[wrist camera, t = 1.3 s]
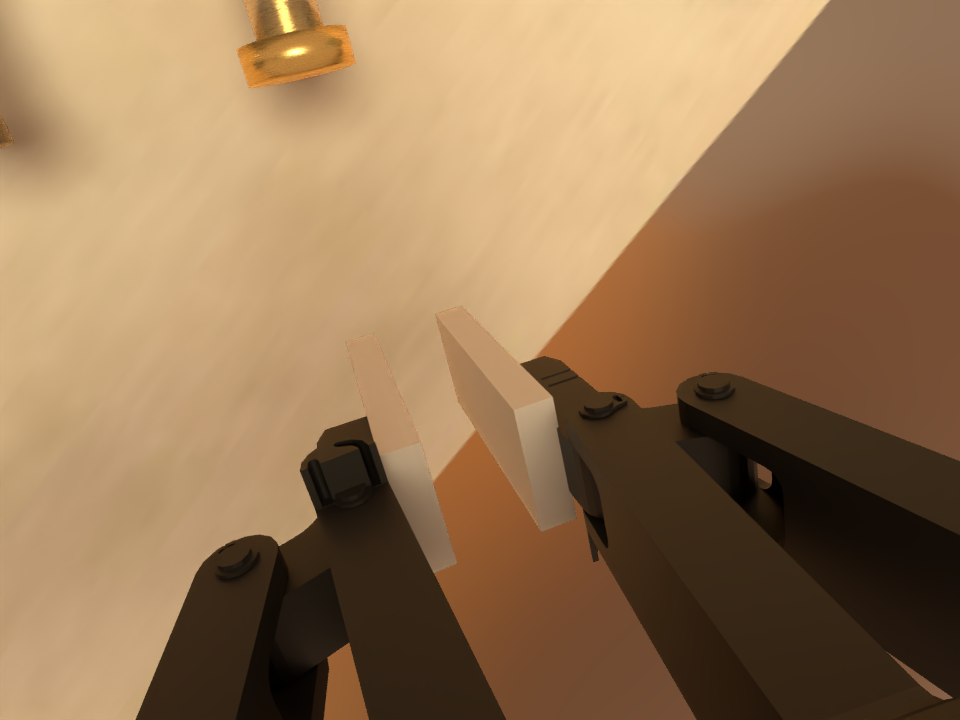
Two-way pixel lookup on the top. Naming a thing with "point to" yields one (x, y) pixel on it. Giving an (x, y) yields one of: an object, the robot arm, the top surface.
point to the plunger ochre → (291, 43)
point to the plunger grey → (4, 134)
